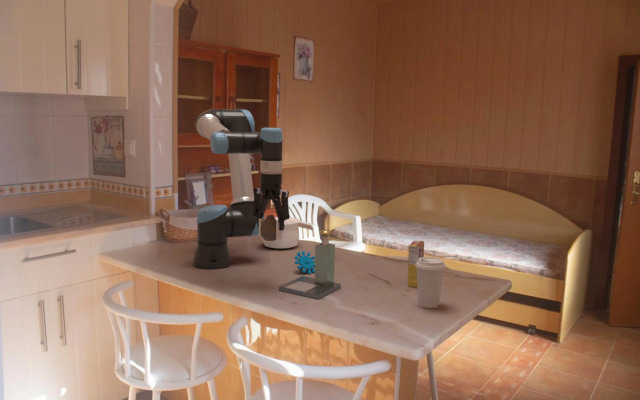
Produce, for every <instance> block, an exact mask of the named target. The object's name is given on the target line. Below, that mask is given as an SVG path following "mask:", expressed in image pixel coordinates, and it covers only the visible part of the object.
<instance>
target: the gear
mask: <svg viewBox="0 0 640 400" xmlns="http://www.w3.org/2000/svg"><path fill="white" fill-rule="evenodd" d="M305 254H306V255H305ZM311 255H312V254H311V253H310V252H307V253H306V251H305V250H302V251H301V252H300V251H298V252H297V253H296V255H295V256H294V259H295V261H294V264H295V265H297V266H296V267H297V270H300V271H301V272H302V273H303V274H304V273H306V272H307V274H308V275H310V274H312V273H314V274H315V255H312V256H311Z"/></svg>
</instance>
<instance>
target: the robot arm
mask: <svg viewBox="0 0 640 400" xmlns="http://www.w3.org/2000/svg"><path fill="white" fill-rule="evenodd" d="M194 126H195V130H196V131H197V133H198V134H199V135H200V136H201V137H203V138H206V139H208V140H209V146H210V151H211V153H213V154H219V155H228V163H229V174H230V182H231V193H232V194H231V195H232V201H231V203H230V204H229V208H228V206H227V205H226V204H213V205H212V204H211V205H207V206H204V207H202V208H199V210H198V211H197V215H196V216H197V217H196V223H197V225H196V226H197V228H196V229H197V233H196V235H197V237H196V238H197V239H196V240H197V244H196V249H195V252H194V256H193V259H192V265H193V266H194V267H196V268H199V269H204V270H205V269H207V270H208V269H209V270H216V269H222V268H226V267H229V266H231V265H232V263H233V261H232V259H233V258H232V255H231V253H230V250H229V247H228V238H241V237H253V236H258V237H259V238H261V237H262V235H261V225H262V223H263V221H264V220H265V218H266V217H265V212H266V209H267V206H268V203H269V201H272V203H273V206H274V209H275V213H276V217H278V220H277V221H276V240H280V239H282V230H284V221H285V220H287V219H289V217H290V206H289V194H290V192H289V191H288V190H283V188H282V183H283V174H282V172H283V142H284V137H283V129H282V128H280V127H262V128H261V129H260V131H256V130H255V127H256V126H255V120H254V117H253V115H252V113H251V112H250V111H249V110H248V109H241V108H210V109H207V110H205V111H202V112H201V113H200V114H199V115H198V116H197V118H196V119H195V123H194ZM250 154H259V155H260V161H259V162H260V166H259V167H260V171H259V172H261V173H260V175H259V176H260V177H259V181H260V182H259V183H260V184H261V185H260V187H256V188H254V187H253V186H254V185H253V178H252V177H253V176H252V167H251V158H250Z"/></svg>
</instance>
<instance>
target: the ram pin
mask: <svg viewBox="0 0 640 400" xmlns="http://www.w3.org/2000/svg"><path fill="white" fill-rule="evenodd" d="M319 233H320V235H321V243H322V245H324V246H328V245H329V243H330V241H329V240H330V235H331V234H332V230H330V229H321V230H320V231H319Z"/></svg>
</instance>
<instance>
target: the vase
mask: <svg viewBox="0 0 640 400" xmlns="http://www.w3.org/2000/svg"><path fill="white" fill-rule="evenodd" d="M275 217H276V216H275V215H274V214H267V215H266V217H265V218H266V219H265V220H264V221H263V223H262V225H261V235H262V237H263V239H264V240H266V241H275V240H276V221H277V220H276V219H275Z"/></svg>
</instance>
